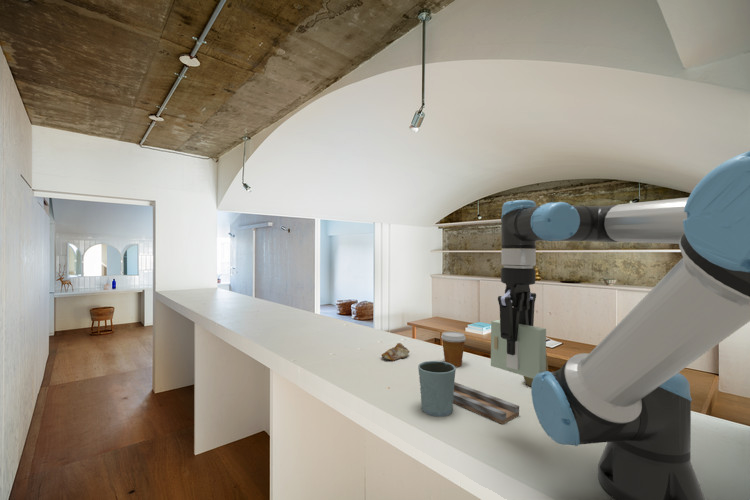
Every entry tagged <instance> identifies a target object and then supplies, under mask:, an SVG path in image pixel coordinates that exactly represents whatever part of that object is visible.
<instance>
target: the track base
mask: <svg viewBox="0 0 750 500" xmlns="http://www.w3.org/2000/svg"><path fill="white" fill-rule="evenodd" d="M453 392H454V394H453V396H454V397H453V404H454V405H457V406H459V407H462V408H463V409H465V410H468V411H470V412H473V413H475V414H478V415H479V416H481V417H485V418H486V419H489V420H492V421H494V422H496V423H499V424H501V425H504V424H507V423H508V422H510V421H512V420H513V419H515V418H517V417H519V416H520V405H519V404H518V405H517V404H515V403H512V402H509V401H507V400H504V399H502V398H499V397H496V396H493V395H491V394H488V393H485V392H483V391H481V390H477V389H475V388H471V387H469V386H466V385H464V384H462V383H461V384H460V383H457V382H456V381H454V391H453Z"/></svg>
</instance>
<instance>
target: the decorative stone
mask: <svg viewBox="0 0 750 500" xmlns="http://www.w3.org/2000/svg"><path fill="white" fill-rule="evenodd" d="M409 353H410V350H409V349H408V348H407V347H405V345H403V344H402V343H401V342H398V343H396V345H395V346H394V347H391V348H388V349H387V351H385V352H383V353H381V357H382V358H384V359H386V360H387V361H388V360H390V361H393V362H394V361H396V360H399V359H404V358H406V357H407V356H408V355H409Z"/></svg>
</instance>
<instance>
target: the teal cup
mask: <svg viewBox="0 0 750 500" xmlns="http://www.w3.org/2000/svg"><path fill="white" fill-rule="evenodd" d="M456 369H457V367H455V366H454V365H452V364H450V363H447V362H445V361H442V360H429V361H427V360H426V361H422V362H421V363H419V364H418V375H419V378H418V379H419V386H420V388H419V389H420V401H421V402H420V404H421V405H420V406H421V410H422V412H423V413H425V414H426V415H429V416H433V417H446V416H450V415H452V413H453V410H454V405H453V404H454V403H453V397H454V396H453V394H454V392H453V391H454V382H456V381H455V380H456V379H455V378H456Z"/></svg>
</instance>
